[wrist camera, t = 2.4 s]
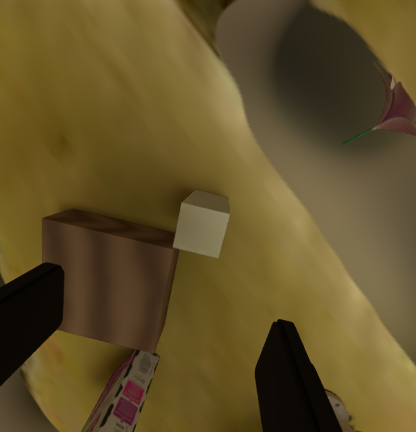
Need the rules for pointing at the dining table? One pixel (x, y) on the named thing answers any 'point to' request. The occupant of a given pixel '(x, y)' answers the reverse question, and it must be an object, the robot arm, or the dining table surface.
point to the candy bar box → (124, 395)
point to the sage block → (202, 223)
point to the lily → (395, 110)
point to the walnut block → (111, 276)
